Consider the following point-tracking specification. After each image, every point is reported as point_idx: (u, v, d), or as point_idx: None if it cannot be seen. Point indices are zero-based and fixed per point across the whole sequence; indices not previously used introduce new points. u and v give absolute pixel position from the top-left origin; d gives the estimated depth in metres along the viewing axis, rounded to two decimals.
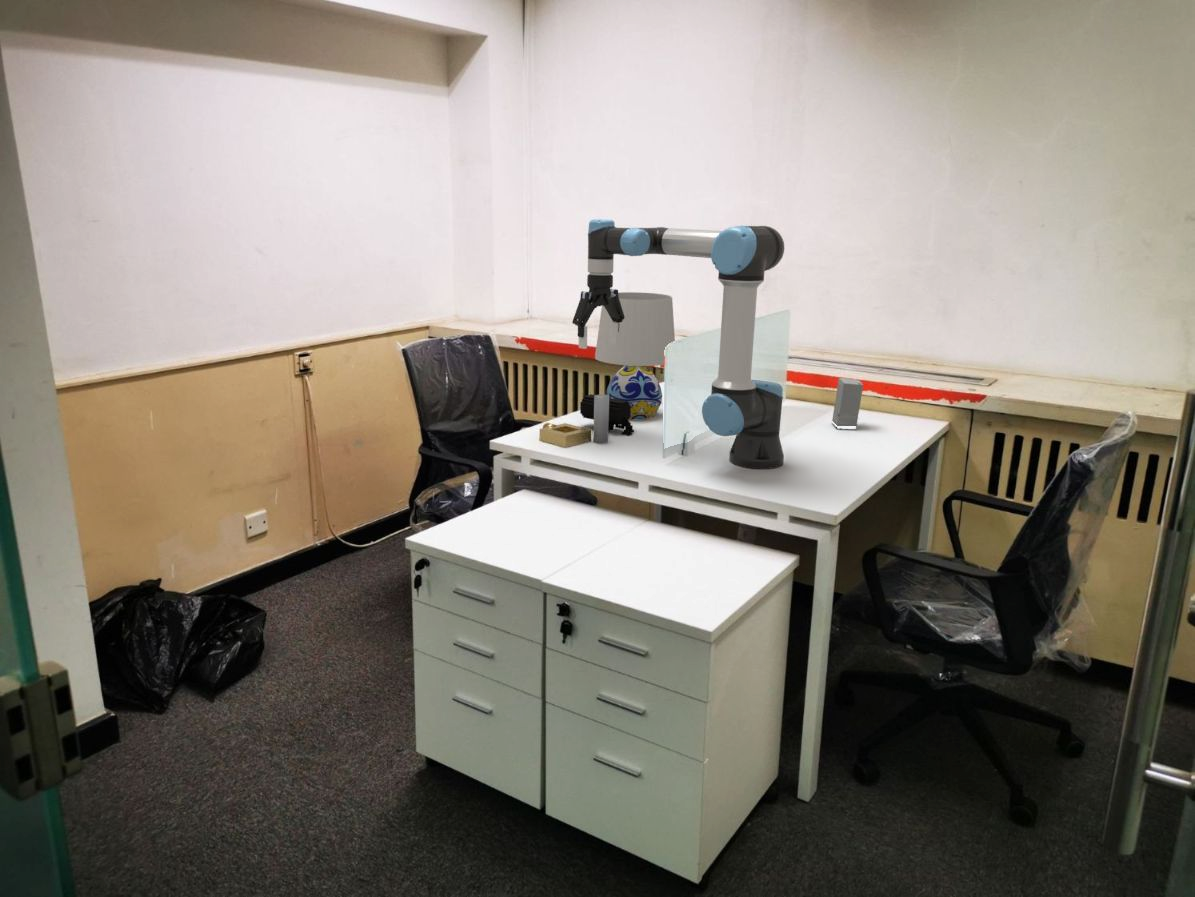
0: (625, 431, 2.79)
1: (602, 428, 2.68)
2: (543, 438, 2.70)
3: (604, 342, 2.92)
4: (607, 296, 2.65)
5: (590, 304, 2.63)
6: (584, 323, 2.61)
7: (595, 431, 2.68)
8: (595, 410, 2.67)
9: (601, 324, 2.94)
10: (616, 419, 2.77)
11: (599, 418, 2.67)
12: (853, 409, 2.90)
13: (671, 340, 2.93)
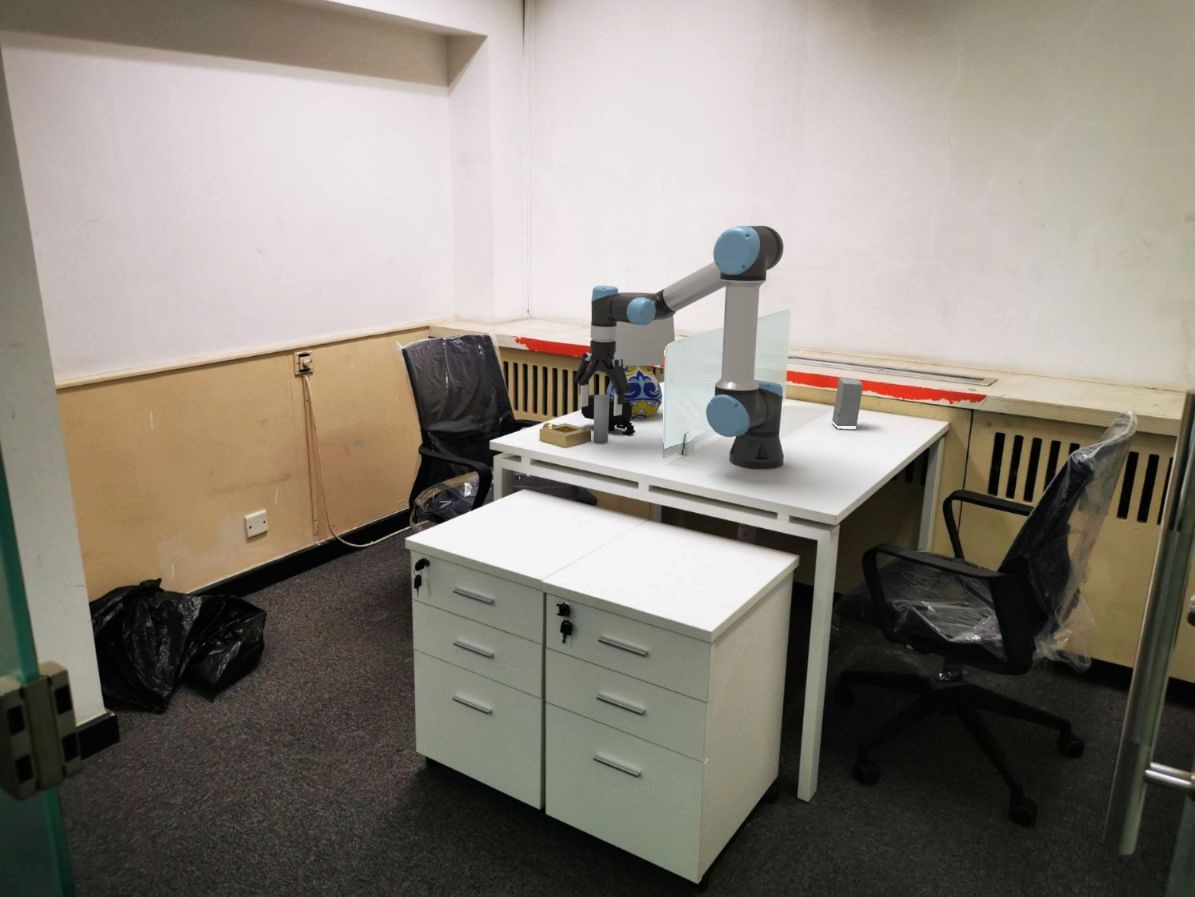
0: (626, 431, 2.79)
1: (602, 428, 2.68)
2: (543, 438, 2.70)
3: None
4: (601, 363, 2.62)
5: None
6: (580, 382, 2.70)
7: (595, 431, 2.68)
8: (595, 410, 2.67)
9: None
10: (617, 419, 2.77)
11: (599, 418, 2.67)
12: (853, 409, 2.90)
13: (671, 340, 2.93)
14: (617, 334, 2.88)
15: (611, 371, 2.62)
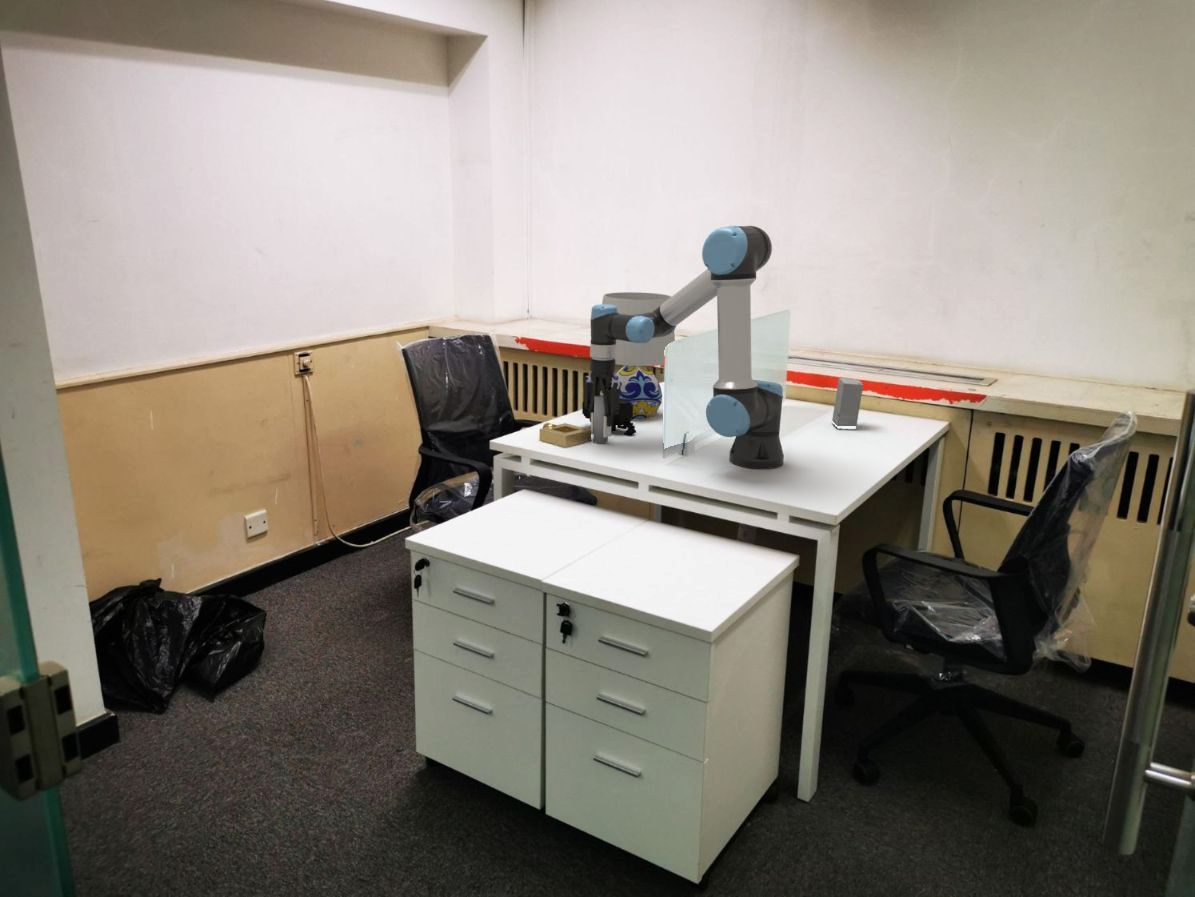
0: (627, 431, 2.79)
1: (602, 428, 2.68)
2: (543, 438, 2.70)
3: None
4: (600, 381, 2.64)
5: None
6: (590, 409, 2.70)
7: (595, 431, 2.68)
8: (595, 410, 2.67)
9: None
10: (618, 419, 2.77)
11: (599, 418, 2.67)
12: (853, 409, 2.90)
13: (671, 340, 2.93)
14: None
15: (607, 392, 2.65)
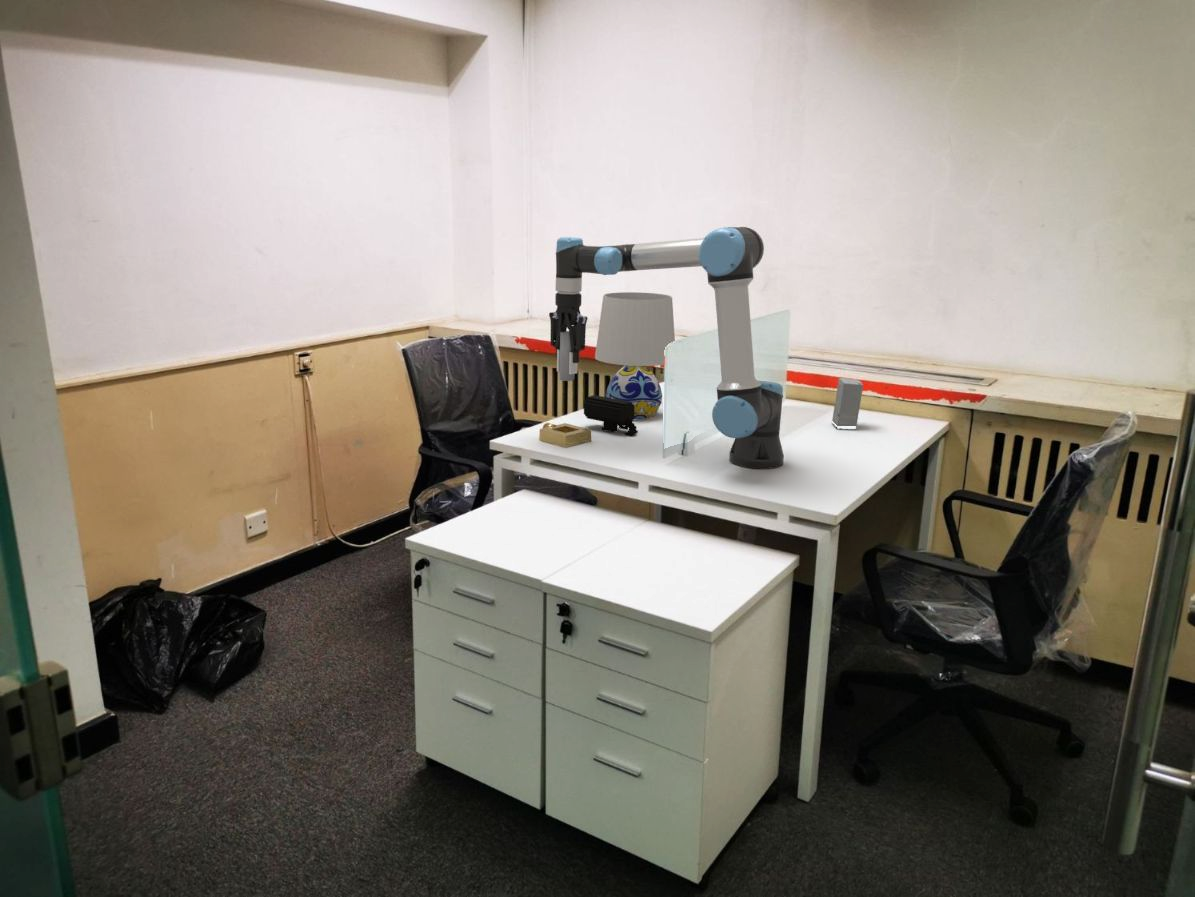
0: (629, 432, 2.78)
1: (568, 365, 2.63)
2: (543, 438, 2.70)
3: (604, 342, 2.92)
4: (566, 315, 2.59)
5: None
6: (556, 345, 2.65)
7: (561, 368, 2.64)
8: (561, 346, 2.62)
9: (601, 324, 2.94)
10: (620, 420, 2.76)
11: (565, 354, 2.62)
12: (853, 409, 2.90)
13: (671, 340, 2.93)
14: (617, 334, 2.88)
15: (573, 327, 2.60)
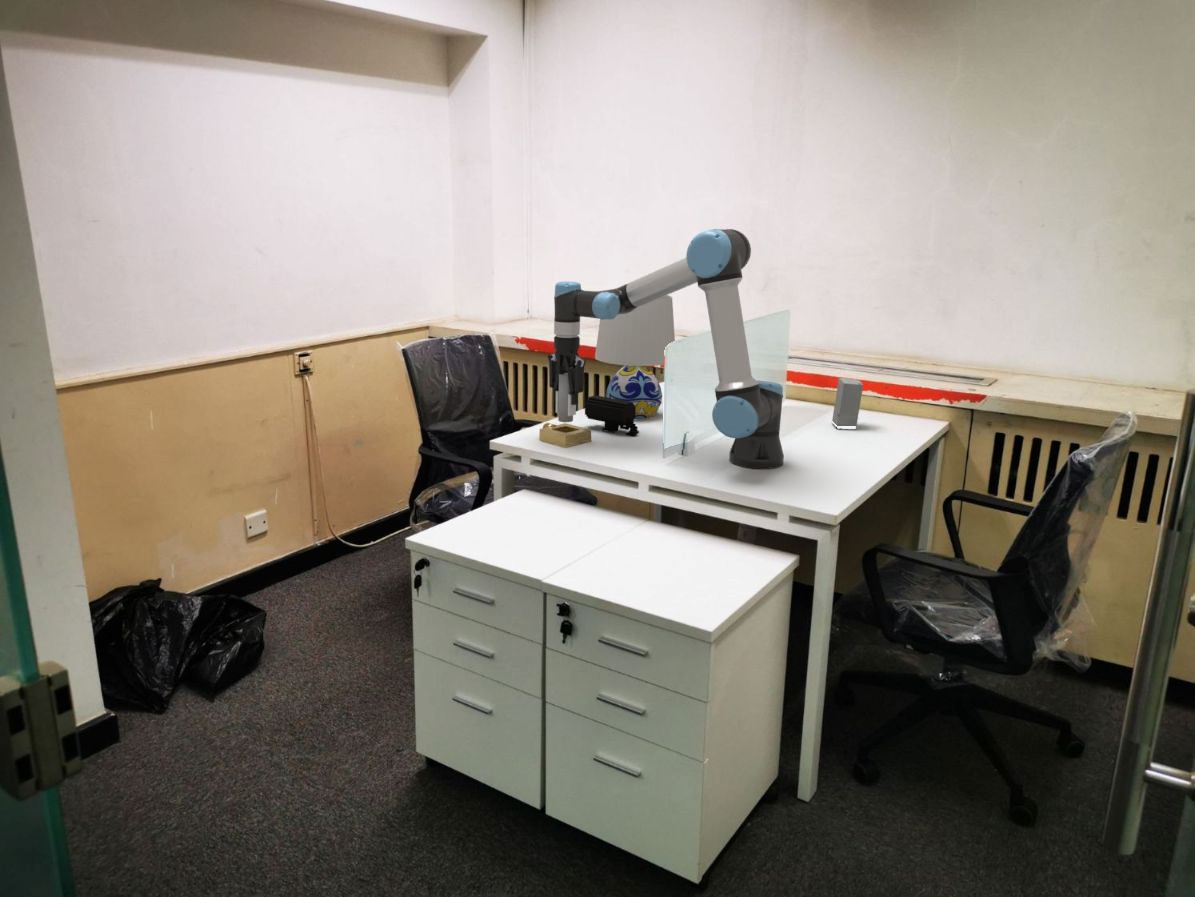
0: (630, 432, 2.78)
1: (566, 407, 2.66)
2: (543, 438, 2.70)
3: (604, 342, 2.92)
4: (564, 358, 2.62)
5: None
6: (554, 387, 2.68)
7: (560, 410, 2.67)
8: (559, 388, 2.66)
9: (601, 324, 2.94)
10: (621, 420, 2.76)
11: (564, 396, 2.65)
12: (853, 409, 2.90)
13: (671, 340, 2.93)
14: (617, 334, 2.88)
15: (572, 369, 2.63)
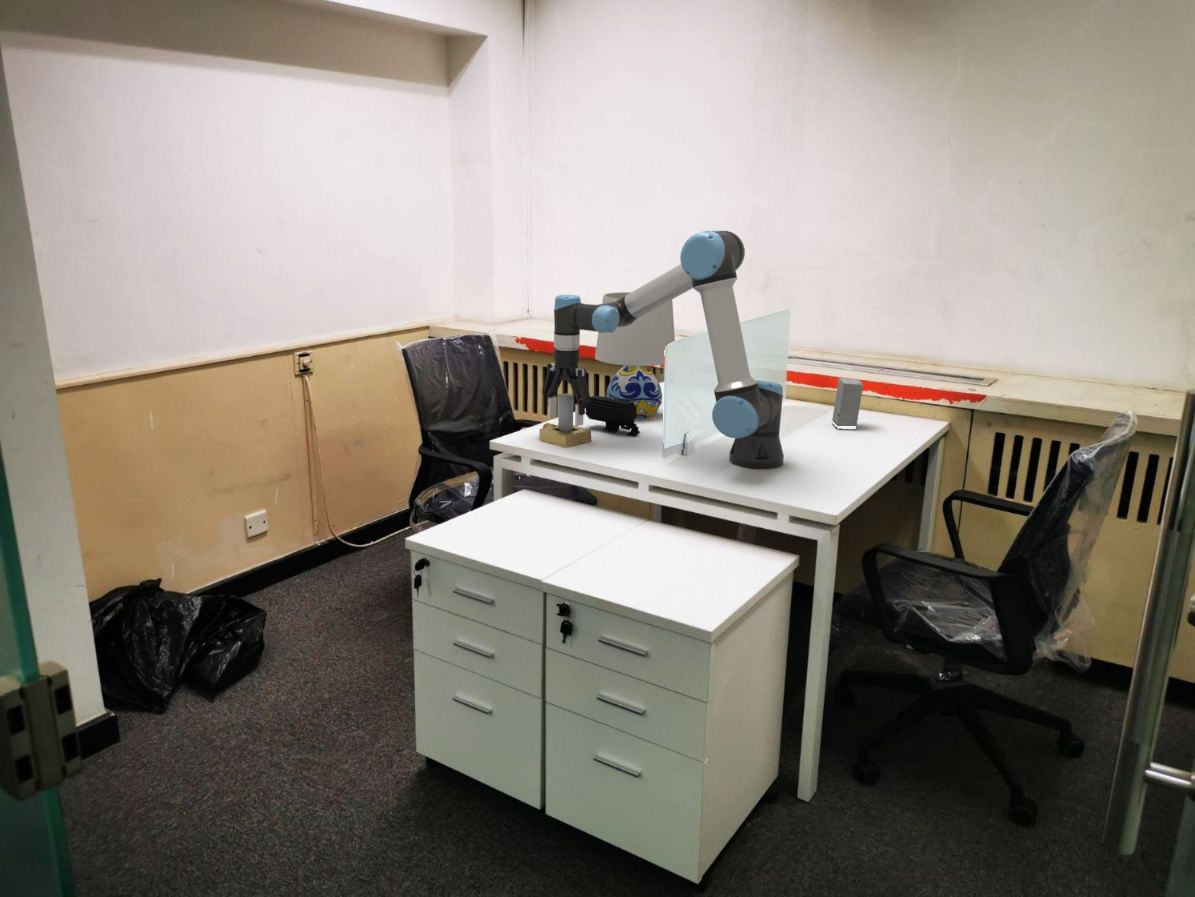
0: (631, 432, 2.78)
1: (566, 427, 2.68)
2: (543, 438, 2.70)
3: (604, 342, 2.92)
4: (564, 371, 2.63)
5: None
6: (547, 394, 2.71)
7: (560, 430, 2.69)
8: (559, 409, 2.67)
9: None
10: (622, 420, 2.76)
11: (563, 416, 2.67)
12: (853, 409, 2.90)
13: (671, 340, 2.93)
14: (617, 334, 2.88)
15: (574, 381, 2.63)
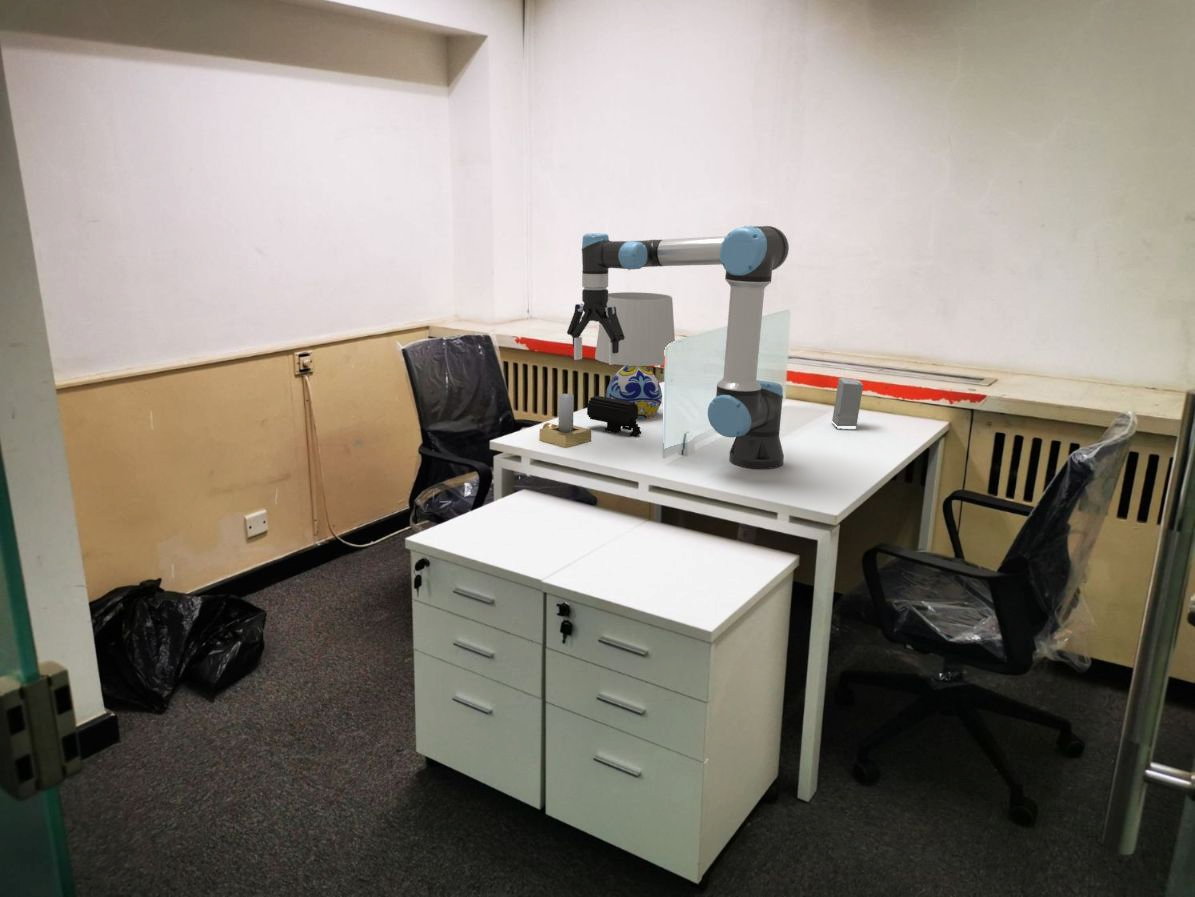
0: (632, 433, 2.77)
1: (566, 427, 2.68)
2: (543, 438, 2.70)
3: (604, 342, 2.92)
4: (594, 312, 2.59)
5: None
6: (573, 334, 2.67)
7: (560, 430, 2.69)
8: (559, 409, 2.67)
9: (601, 324, 2.94)
10: (623, 421, 2.76)
11: (564, 417, 2.67)
12: (853, 409, 2.90)
13: (671, 340, 2.93)
14: None
15: (604, 320, 2.59)
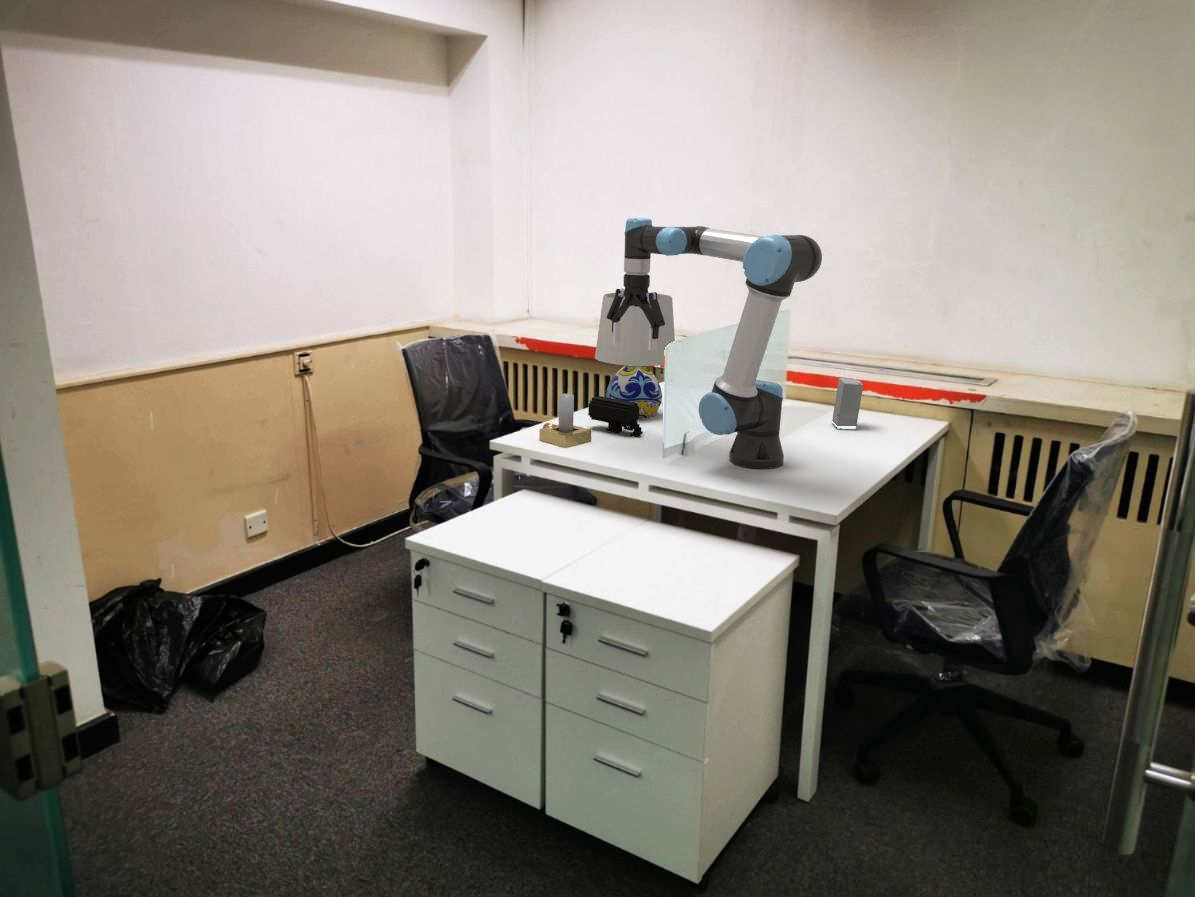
0: (634, 433, 2.77)
1: (566, 427, 2.68)
2: (543, 438, 2.70)
3: (604, 342, 2.92)
4: (635, 297, 2.58)
5: None
6: (612, 319, 2.66)
7: (560, 430, 2.69)
8: (560, 409, 2.67)
9: (601, 324, 2.94)
10: (625, 421, 2.75)
11: (564, 417, 2.67)
12: (853, 409, 2.90)
13: (671, 340, 2.93)
14: None
15: (645, 305, 2.58)
